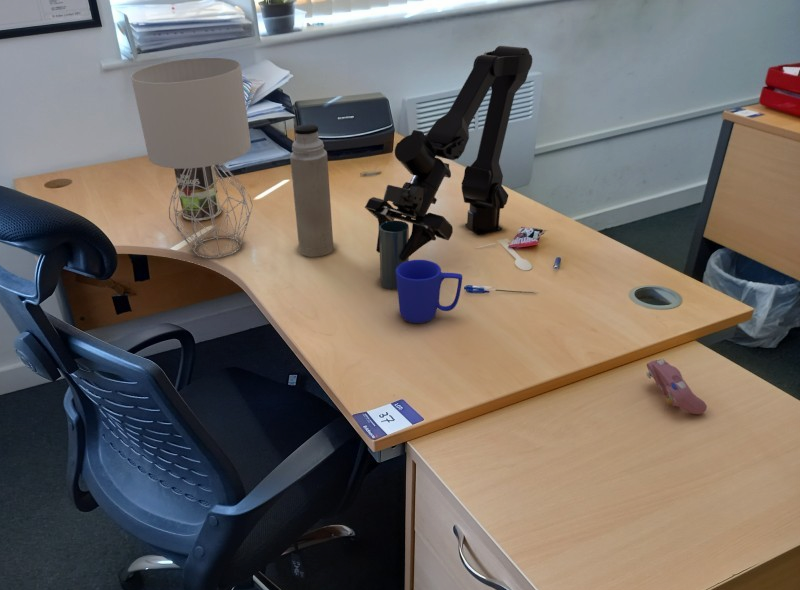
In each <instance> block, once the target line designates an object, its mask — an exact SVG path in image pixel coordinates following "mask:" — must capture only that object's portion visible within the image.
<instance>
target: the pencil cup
mask: <svg viewBox="0 0 800 590" xmlns="http://www.w3.org/2000/svg"><path fill="white" fill-rule="evenodd" d="M378 232H379V242H380V253H379V274H380V275H379V276H380V277H379V280H380V285H381V287H383V288H385V289H388V290H398V289H397V278H396V268H397V267H398V266H399V265H400V264H402V263H404V262H406V261H410V260H409V259H410V256H409V257H408V258H407V259H406V260H404V261H402V260H401V259H400V257H401V255H402V252H403V250H404V248H405V246H406V244H407V242H408V240H409V238H410V226H409V223H408V222H405V221H402V220H394V221H387V222H384V223H382V224H381V225H380V226H379V225H378Z"/></svg>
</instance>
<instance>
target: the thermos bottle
mask: <svg viewBox="0 0 800 590" xmlns="http://www.w3.org/2000/svg"><path fill="white" fill-rule="evenodd" d="M294 133H295V141H293V142H292V145H291V146H292V147H291V151H292V152H290V154H289V160H290V161H289V162H290V170H291V180H292V181H291V182H292V190H293V199H294V200H293V203H294V213H295V221H296V231H297V232H296V233H297V242H298V250H299V251H298V252H299V253H300V254H301V255H303V256H304V257H310V258H311V257H312V258H315V257H317V258H318V257H323V256H326V255H329V254H330V253H332V252H333V250H334V234H333V222H332V221H333V220H332V203H331V190H330V175H329V161H328V160H329V159H328V152H327V150H326V149H324V147H325V144H324V142H323V140H322V139H320V138H319V137H320V136H319V127H318V125H316V124H311V123H309V124H300V125H297V126H295V127H294Z"/></svg>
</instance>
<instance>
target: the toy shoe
mask: <svg viewBox="0 0 800 590" xmlns="http://www.w3.org/2000/svg"><path fill="white" fill-rule="evenodd" d="M646 367H647V370H648V371H646V373H645V374H646V377H647V378H649V379H652V378H653V380H654V382H655V384H656V386H657V387H658V389H659V390H660V392H661V393H662V395H666V397H667V399H666V401H667V403H668V404H671V406H673V407H674V408H675V407H679V408H680V409H681V410H683V411H685V412H687V413H690V414H692V415H703V414H704V413H705V412H706V411H707V408H708V406H707V403H706V402H705V401H704V400H703V399H701V398H700V397H698V396H697V395H696V394H695V393H694V392H693V390H691V388H690V387H689V384H688V383H687V382H686V380H684V378H683V375H682V373H681V371H680V370H679V369H678V368H676V367H675V366H673V365H671V364H670V363H669V362H667V361H666V360H665V359H664V358H661V359H655V360H651V361H650V362H647V363H646Z"/></svg>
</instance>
